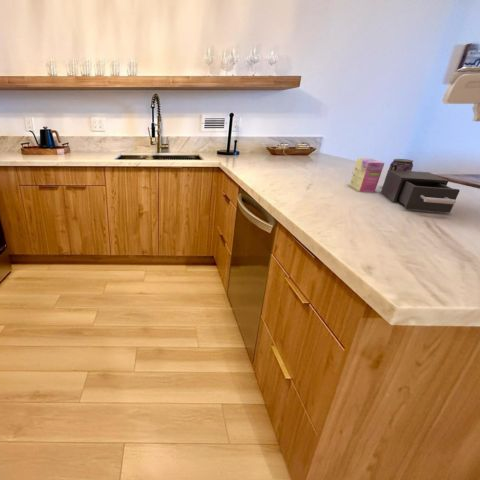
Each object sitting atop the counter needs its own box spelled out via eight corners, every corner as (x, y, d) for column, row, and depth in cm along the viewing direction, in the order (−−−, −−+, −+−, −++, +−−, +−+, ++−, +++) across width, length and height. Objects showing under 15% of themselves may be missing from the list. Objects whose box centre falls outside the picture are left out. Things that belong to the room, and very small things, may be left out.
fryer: (437, 207, 97) (448, 180, 93) (392, 203, 101) (401, 177, 97) (419, 196, 109) (428, 172, 105) (380, 193, 113) (388, 169, 109)
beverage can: (387, 191, 115) (397, 161, 110) (379, 187, 122) (388, 158, 117) (407, 192, 114) (418, 161, 109) (398, 188, 120) (408, 158, 115)
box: (375, 193, 113) (384, 162, 108) (359, 192, 114) (368, 162, 109) (363, 186, 122) (372, 158, 117) (349, 186, 123) (356, 158, 118)
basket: (458, 218, 85) (469, 194, 82) (411, 213, 88) (420, 190, 85) (430, 201, 100) (438, 180, 97) (391, 197, 104) (398, 177, 101)
